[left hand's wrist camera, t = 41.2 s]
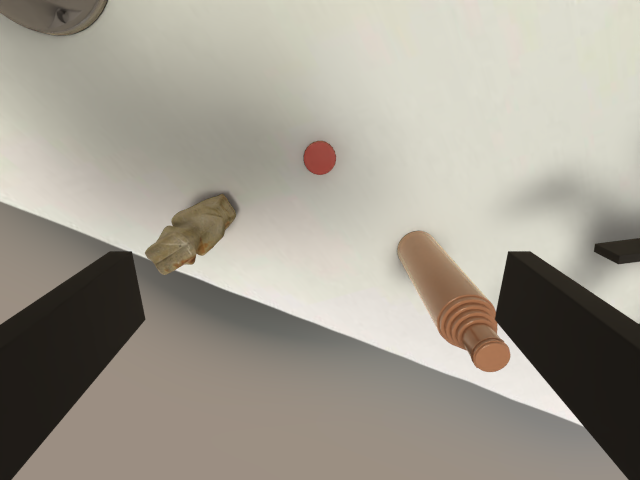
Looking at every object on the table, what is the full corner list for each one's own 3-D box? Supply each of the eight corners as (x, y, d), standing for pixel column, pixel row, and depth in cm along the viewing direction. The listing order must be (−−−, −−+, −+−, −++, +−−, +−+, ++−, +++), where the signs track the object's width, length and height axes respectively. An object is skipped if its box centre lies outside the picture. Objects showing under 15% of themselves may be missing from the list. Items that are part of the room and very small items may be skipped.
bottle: (423, 223, 51) (508, 316, 28) (443, 252, 53) (539, 363, 30) (389, 245, 52) (445, 352, 29) (410, 273, 54) (478, 396, 31)
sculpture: (182, 205, 50) (128, 242, 36) (225, 183, 49) (187, 212, 35) (204, 239, 52) (161, 287, 38) (246, 219, 51) (218, 260, 37)
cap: (304, 172, 49) (303, 175, 47) (303, 140, 47) (303, 141, 45) (335, 172, 49) (335, 175, 47) (335, 140, 47) (336, 141, 45)
